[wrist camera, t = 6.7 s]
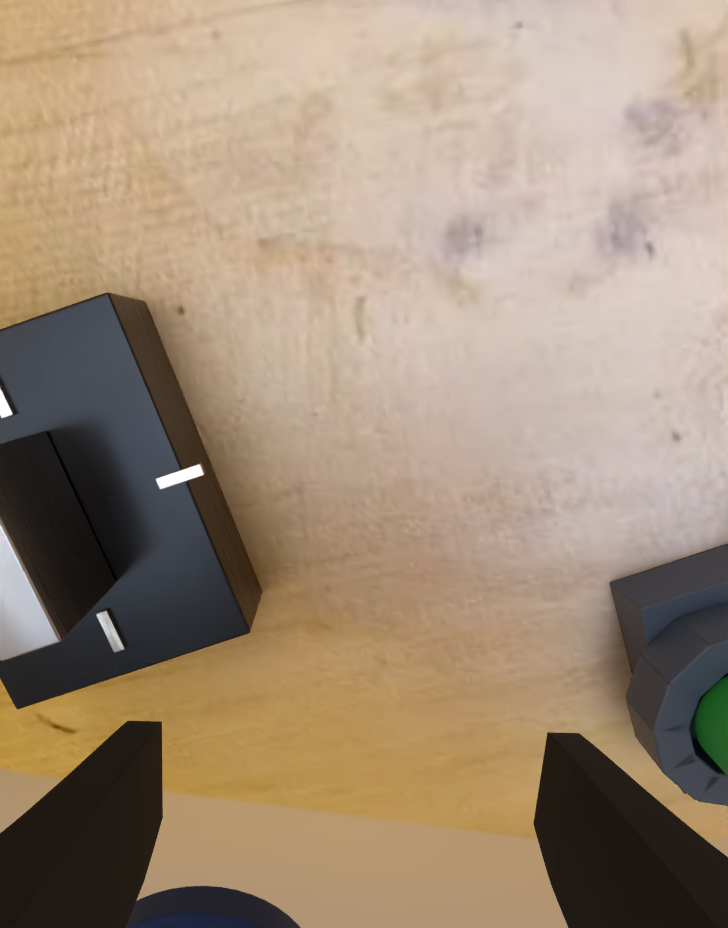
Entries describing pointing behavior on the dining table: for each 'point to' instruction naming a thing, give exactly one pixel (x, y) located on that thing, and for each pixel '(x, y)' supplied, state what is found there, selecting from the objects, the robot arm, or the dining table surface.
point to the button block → (676, 662)
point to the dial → (43, 550)
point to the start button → (714, 723)
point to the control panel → (124, 494)
